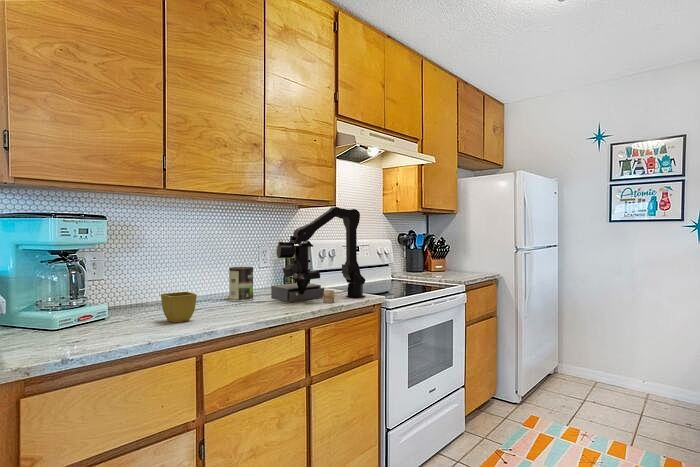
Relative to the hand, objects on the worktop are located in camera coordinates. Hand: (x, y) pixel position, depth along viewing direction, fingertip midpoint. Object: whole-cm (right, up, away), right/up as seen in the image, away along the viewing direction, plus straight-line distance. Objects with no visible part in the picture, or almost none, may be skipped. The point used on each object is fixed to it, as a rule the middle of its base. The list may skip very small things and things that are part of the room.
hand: (301, 294), depth 170 cm
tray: (-2, -3, +9) cm, 9 cm away
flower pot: (-36, -3, -38) cm, 52 cm away
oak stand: (+12, -3, -2) cm, 12 cm away
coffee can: (-27, -3, +4) cm, 27 cm away
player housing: (-3, -3, +10) cm, 11 cm away
